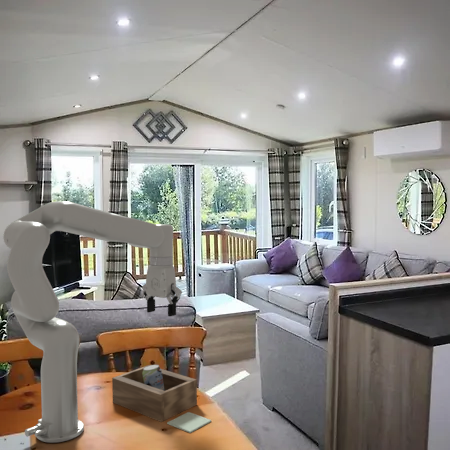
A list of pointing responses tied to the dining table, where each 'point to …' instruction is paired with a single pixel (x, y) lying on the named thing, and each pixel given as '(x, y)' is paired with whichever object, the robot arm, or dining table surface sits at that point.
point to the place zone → (189, 422)
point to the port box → (155, 394)
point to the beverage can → (153, 377)
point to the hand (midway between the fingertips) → (161, 313)
